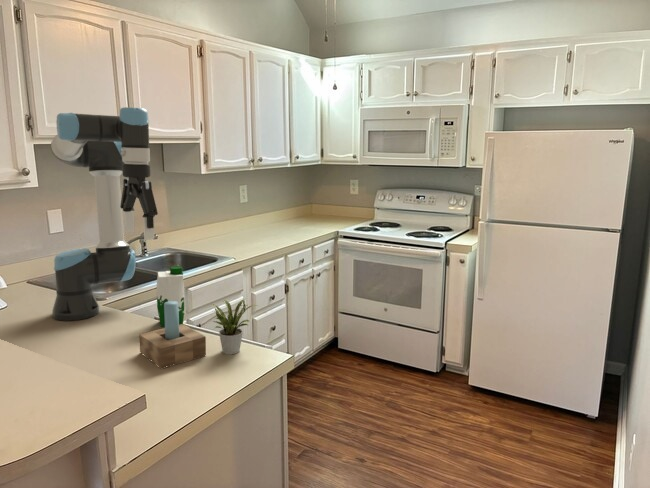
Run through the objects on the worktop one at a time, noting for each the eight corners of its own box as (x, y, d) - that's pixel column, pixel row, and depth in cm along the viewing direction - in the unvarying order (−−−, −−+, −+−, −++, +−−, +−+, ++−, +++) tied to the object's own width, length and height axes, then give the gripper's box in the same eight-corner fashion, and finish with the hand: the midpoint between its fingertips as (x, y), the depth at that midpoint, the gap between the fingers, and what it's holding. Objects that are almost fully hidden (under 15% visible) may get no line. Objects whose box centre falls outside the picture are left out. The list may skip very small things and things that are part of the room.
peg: (163, 354, 146) (161, 302, 143) (175, 350, 149) (174, 300, 146) (169, 358, 143) (168, 306, 140) (182, 354, 146) (180, 303, 143)
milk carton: (185, 326, 170) (184, 270, 166) (158, 328, 166) (156, 271, 163) (183, 317, 178) (182, 264, 174) (157, 320, 174) (155, 265, 171)
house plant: (258, 340, 159) (258, 292, 155) (259, 358, 145) (259, 305, 142) (213, 342, 156) (212, 292, 153) (209, 360, 143) (208, 306, 140)
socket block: (140, 353, 146) (139, 334, 145) (183, 341, 156) (182, 323, 155) (161, 368, 136) (160, 348, 135) (205, 355, 146) (205, 336, 145)
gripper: (106, 161, 147) (110, 231, 151) (141, 165, 129) (145, 243, 133) (131, 161, 152) (134, 229, 156) (168, 165, 134) (170, 240, 138)
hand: (139, 236), depth 145 cm, fingers open, 13 cm apart
